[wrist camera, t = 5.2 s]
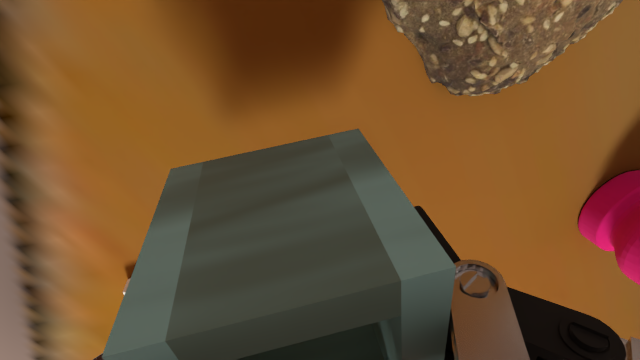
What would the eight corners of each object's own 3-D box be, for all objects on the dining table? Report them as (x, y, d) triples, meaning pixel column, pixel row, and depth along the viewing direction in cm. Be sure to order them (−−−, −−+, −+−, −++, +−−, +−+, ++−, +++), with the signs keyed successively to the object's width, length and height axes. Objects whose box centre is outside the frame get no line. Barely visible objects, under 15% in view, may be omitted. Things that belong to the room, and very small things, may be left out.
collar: (170, 168, 10) (101, 357, 5) (358, 128, 11) (455, 266, 6) (227, 292, 14) (218, 479, 9) (368, 257, 14) (436, 415, 9)
